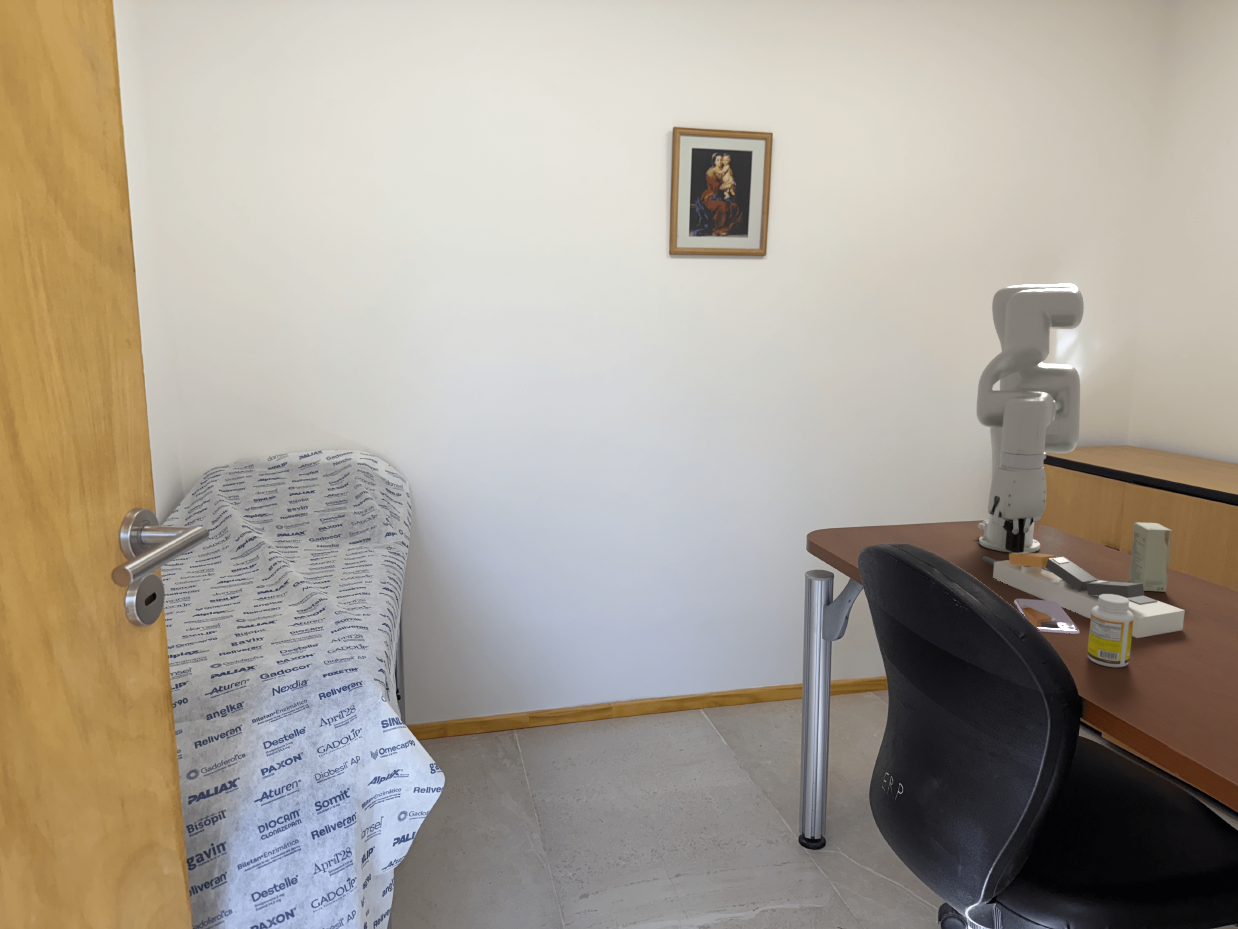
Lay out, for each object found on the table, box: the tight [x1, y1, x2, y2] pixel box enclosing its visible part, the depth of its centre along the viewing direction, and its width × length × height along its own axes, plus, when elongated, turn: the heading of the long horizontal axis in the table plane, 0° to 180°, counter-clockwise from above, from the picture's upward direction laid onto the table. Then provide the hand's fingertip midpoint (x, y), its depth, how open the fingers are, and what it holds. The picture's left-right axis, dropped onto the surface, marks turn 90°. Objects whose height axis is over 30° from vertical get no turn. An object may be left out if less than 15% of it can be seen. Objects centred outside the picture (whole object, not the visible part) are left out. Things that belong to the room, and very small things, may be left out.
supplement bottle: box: [1087, 594, 1134, 668], centre depth 122 cm, size 6×6×10 cm
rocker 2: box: [1046, 556, 1099, 591], centre depth 146 cm, size 8×4×2 cm, turn 18°
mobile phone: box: [1013, 598, 1080, 635], centre depth 141 cm, size 8×1×15 cm
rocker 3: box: [1086, 580, 1145, 598], centre depth 137 cm, size 8×4×2 cm, turn 17°
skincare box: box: [1128, 521, 1173, 593], centre depth 154 cm, size 6×4×12 cm
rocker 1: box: [1008, 552, 1057, 568], centre depth 154 cm, size 8×4×2 cm, turn 17°
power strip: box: [981, 556, 1186, 639], centre depth 151 cm, size 40×10×5 cm, turn 18°
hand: (1014, 550), depth 158 cm, fingers closed
